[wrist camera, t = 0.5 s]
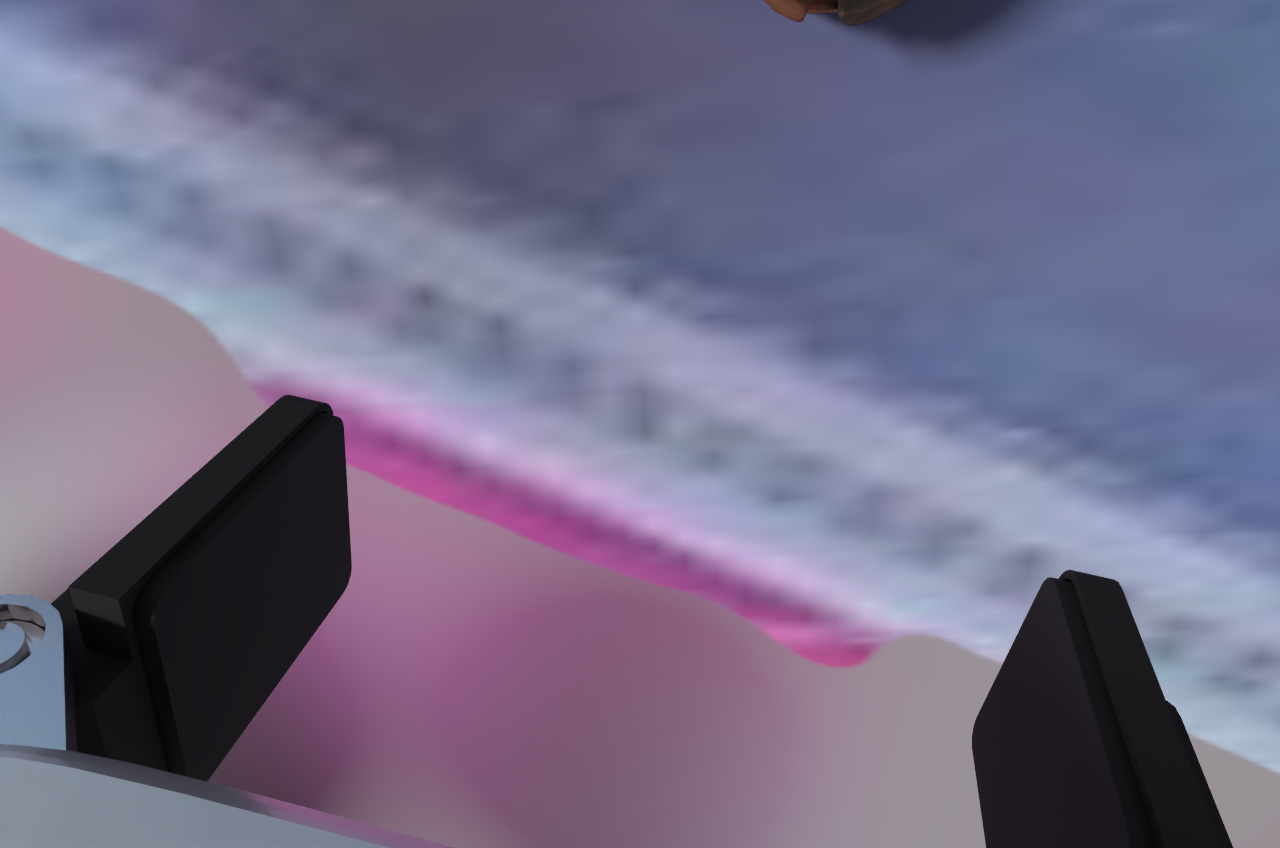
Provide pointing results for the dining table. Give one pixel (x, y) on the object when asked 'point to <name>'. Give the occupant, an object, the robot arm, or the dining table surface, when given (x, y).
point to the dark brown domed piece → (834, 8)
